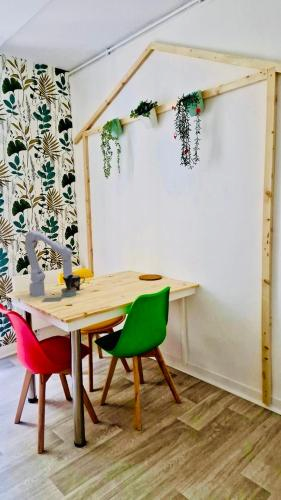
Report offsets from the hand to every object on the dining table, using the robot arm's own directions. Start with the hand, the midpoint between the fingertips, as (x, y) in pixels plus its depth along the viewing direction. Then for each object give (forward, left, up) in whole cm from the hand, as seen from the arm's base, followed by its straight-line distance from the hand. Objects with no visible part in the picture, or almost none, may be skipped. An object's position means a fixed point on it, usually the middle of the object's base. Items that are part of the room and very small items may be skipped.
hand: (68, 286), depth 225 cm
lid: (0, 0, -3) cm, 3 cm away
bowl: (0, 0, -6) cm, 6 cm away
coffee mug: (+3, +15, -6) cm, 17 cm away
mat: (-9, -10, -6) cm, 15 cm away
